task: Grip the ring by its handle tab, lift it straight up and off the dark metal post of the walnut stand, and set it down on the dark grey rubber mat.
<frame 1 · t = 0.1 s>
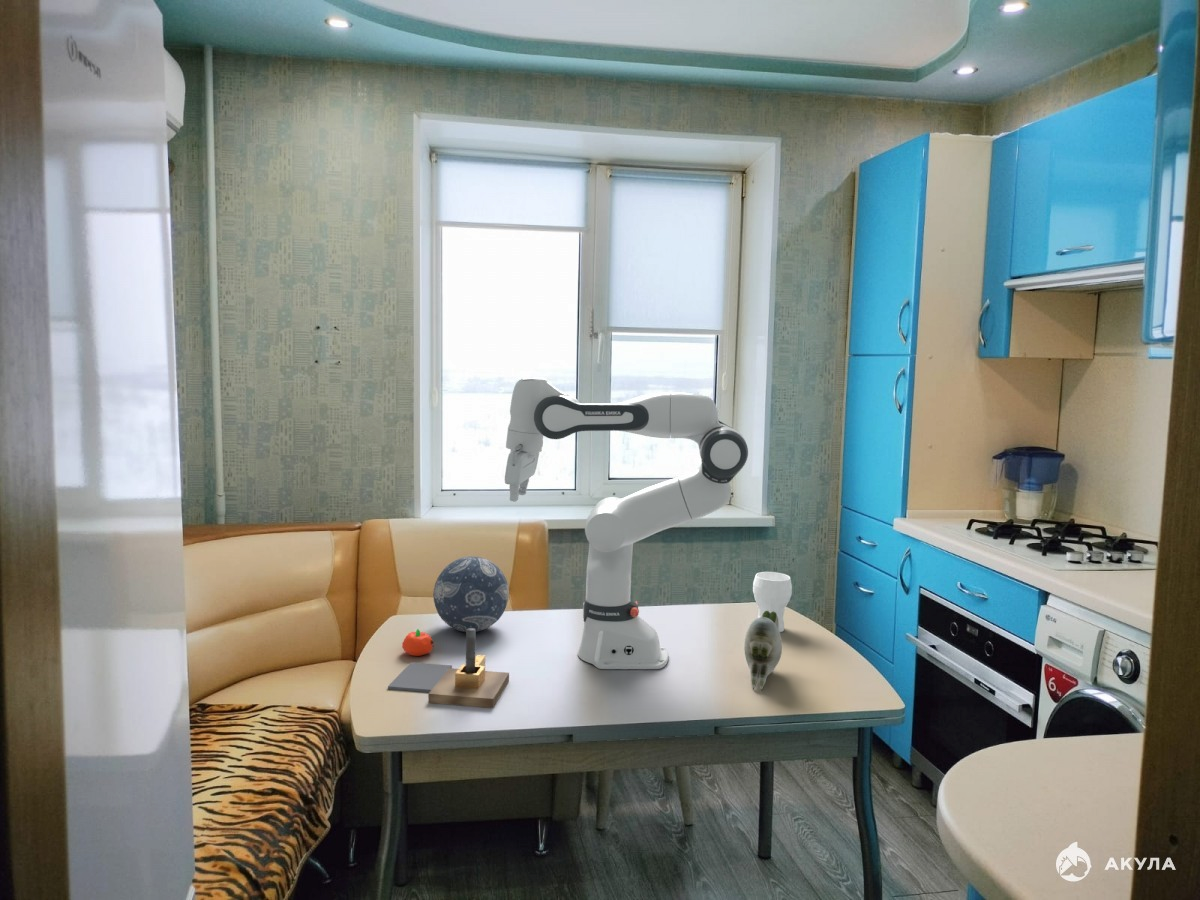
hand: (517, 497, 191), 39 cm above the table, fingers open, 8 cm apart
stand: (470, 691, 169), on the table
mat: (421, 678, 175), on the table
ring: (470, 682, 169), point 2 cm above the table, touching stand
toy: (762, 675, 183), on the table
decorative ball: (471, 630, 208), on the table
cup: (770, 629, 216), on the table
pumpkin: (417, 654, 190), on the table
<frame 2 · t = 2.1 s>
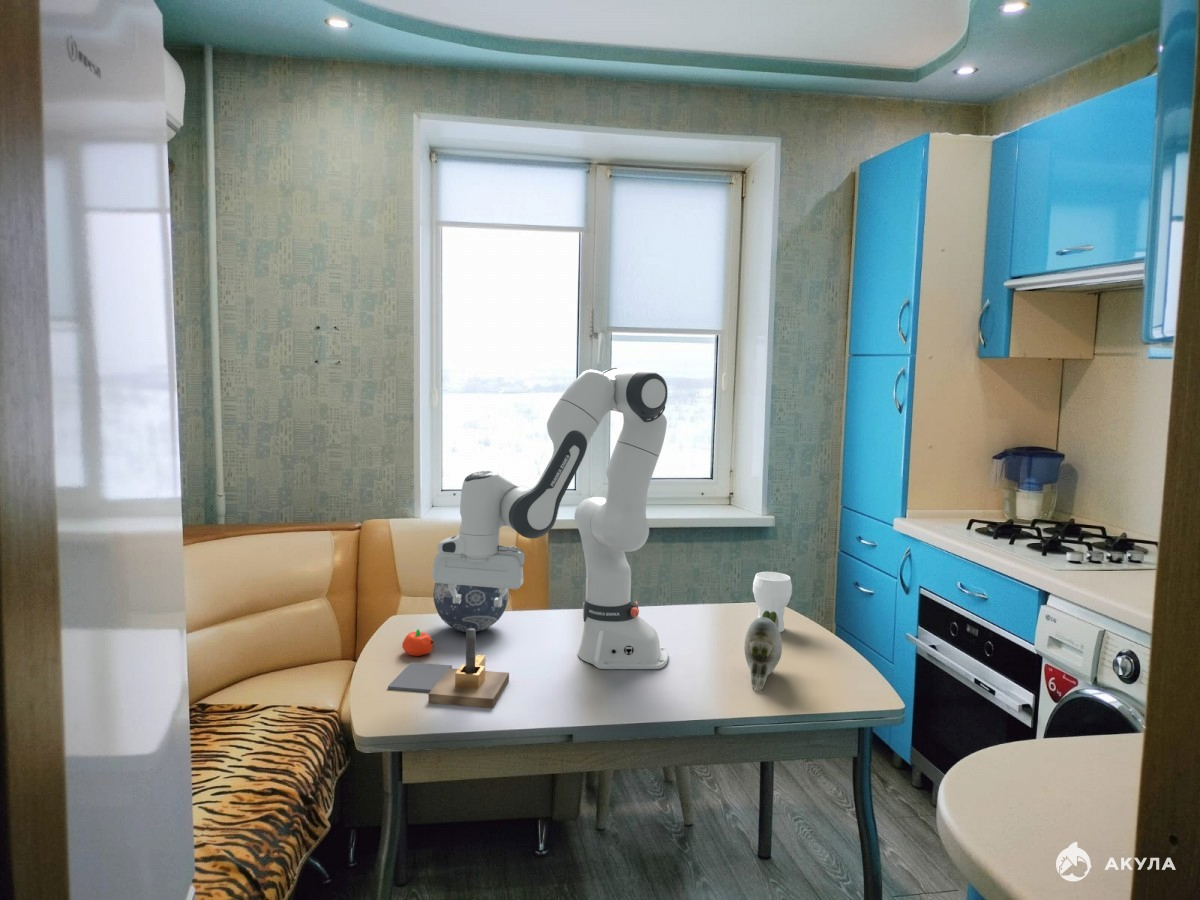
hand: (477, 604, 173), 18 cm above the table, fingers open, 8 cm apart
nothing on the table moved.
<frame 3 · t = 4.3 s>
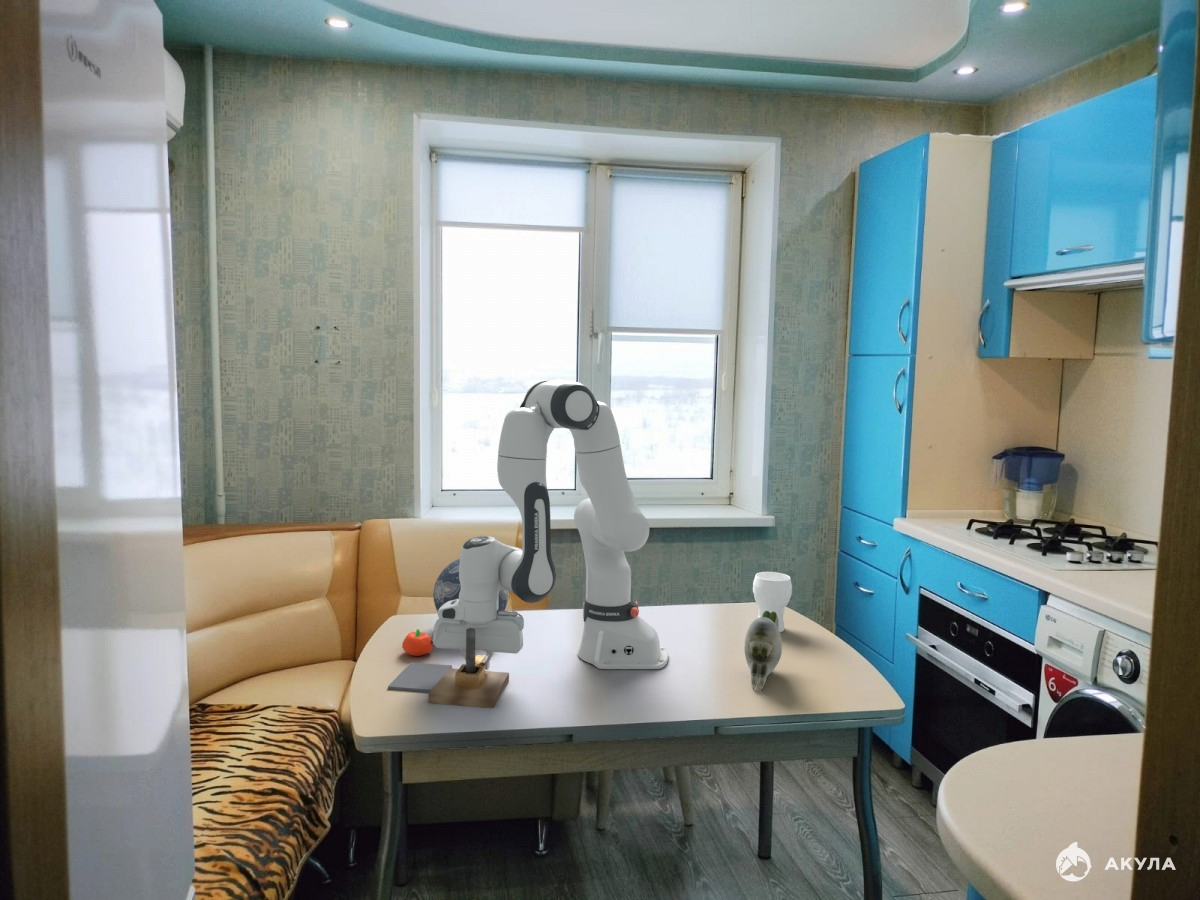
hand: (478, 668, 174), 3 cm above the table, fingers closed on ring, 2 cm apart
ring: (470, 682, 169), point 2 cm above the table, touching gripper, stand
everything else where it was.
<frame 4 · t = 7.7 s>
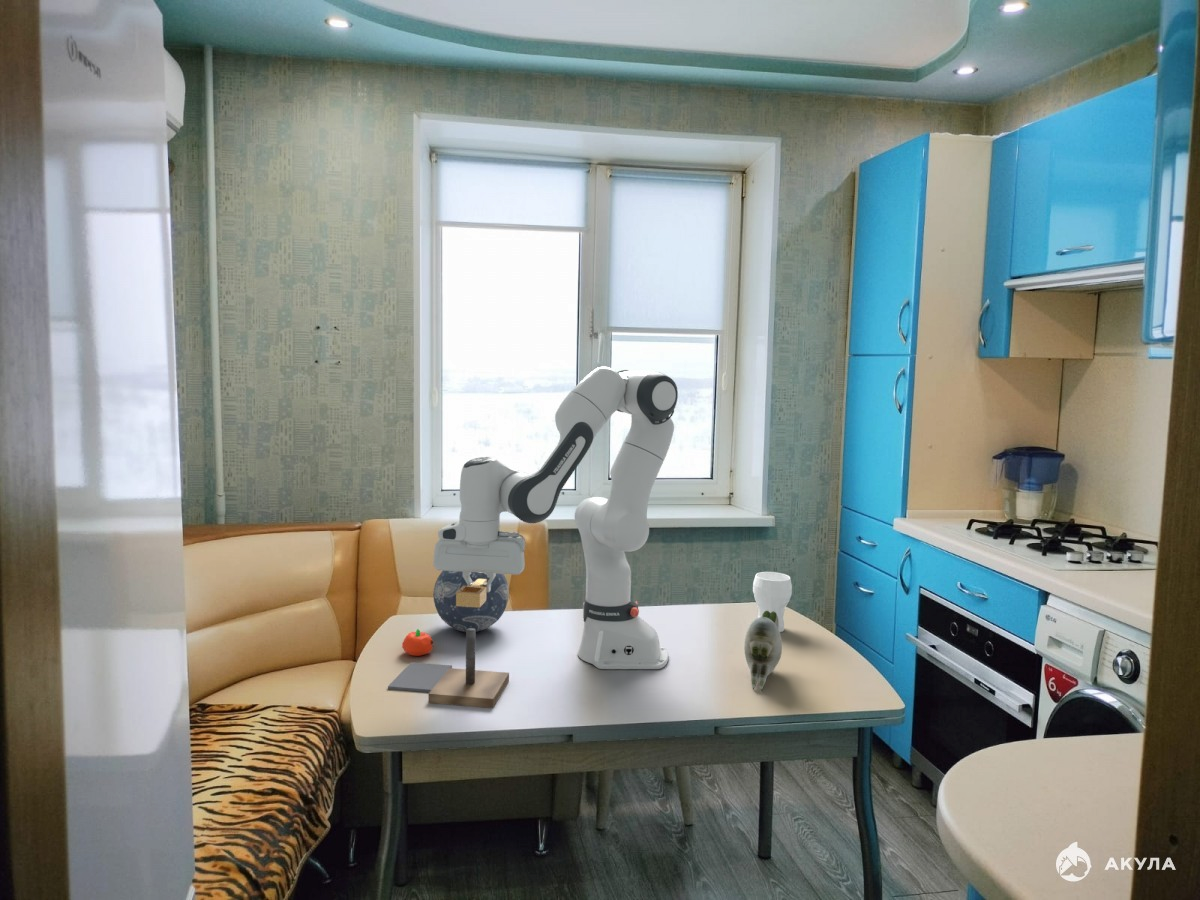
hand: (479, 591, 172), 21 cm above the table, fingers closed on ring
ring: (471, 603, 167), point 20 cm above the table, touching gripper
everything else where it was.
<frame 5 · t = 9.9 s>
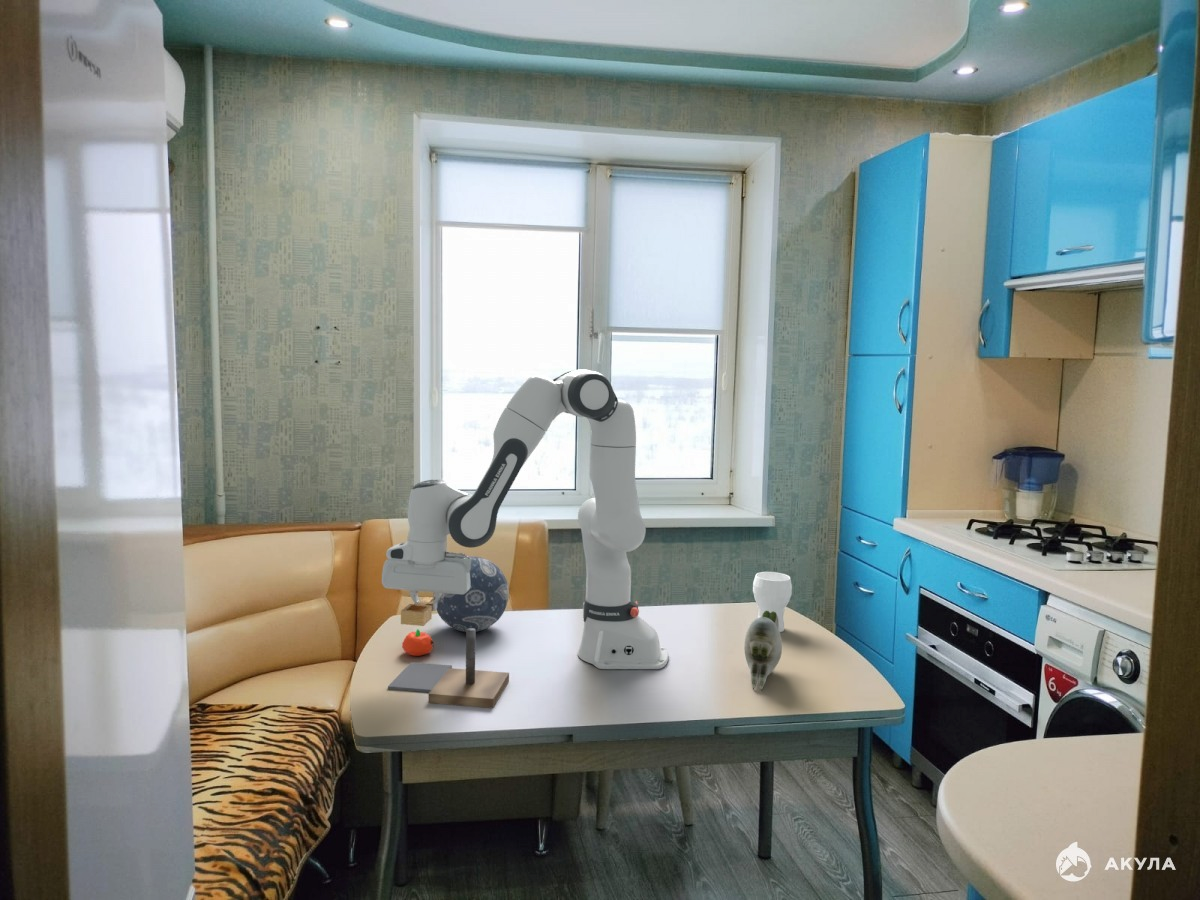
hand: (425, 609, 177), 15 cm above the table, fingers closed on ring
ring: (416, 621, 172), point 14 cm above the table, touching gripper
everything else where it was.
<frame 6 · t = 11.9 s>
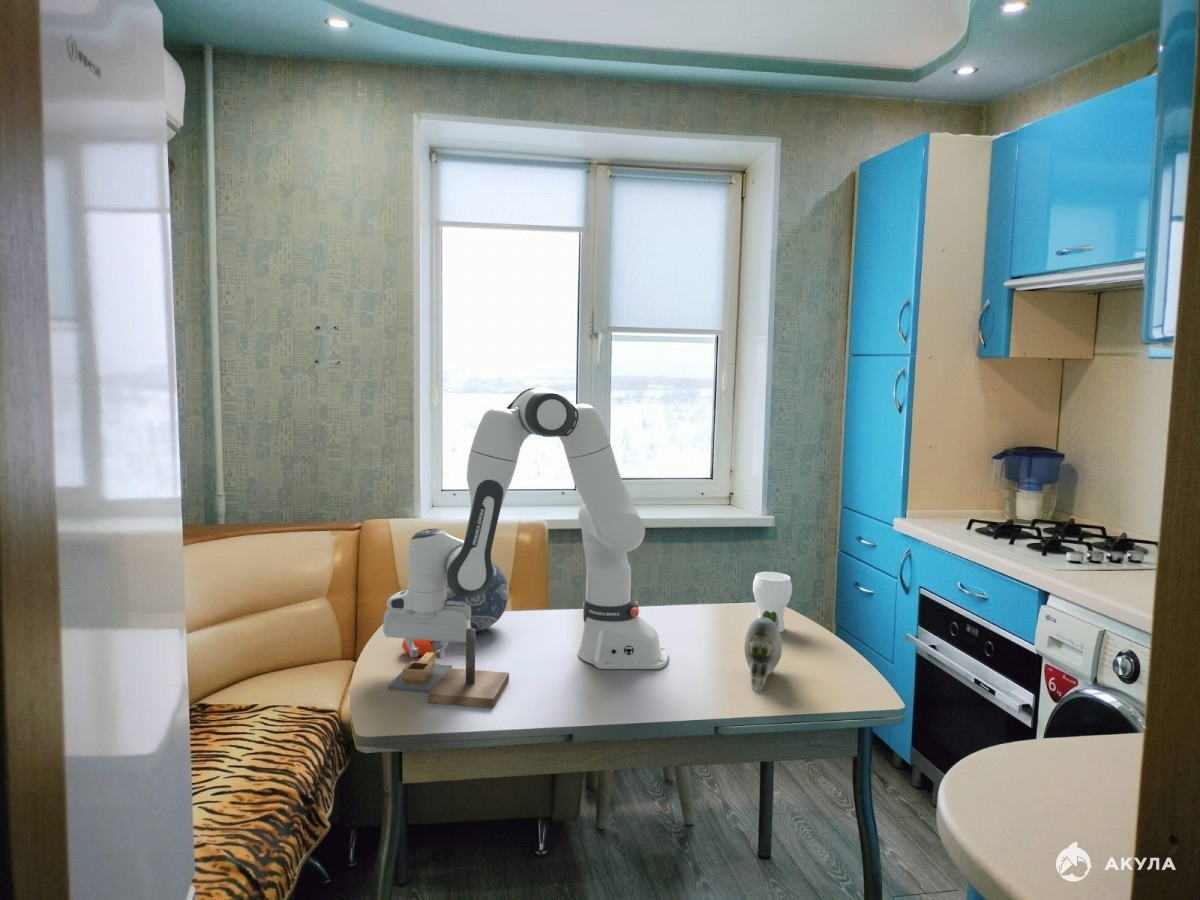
hand: (427, 657, 179), 3 cm above the table, fingers open, 5 cm apart
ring: (418, 679, 173), point 1 cm above the table, touching mat
everything else where it was.
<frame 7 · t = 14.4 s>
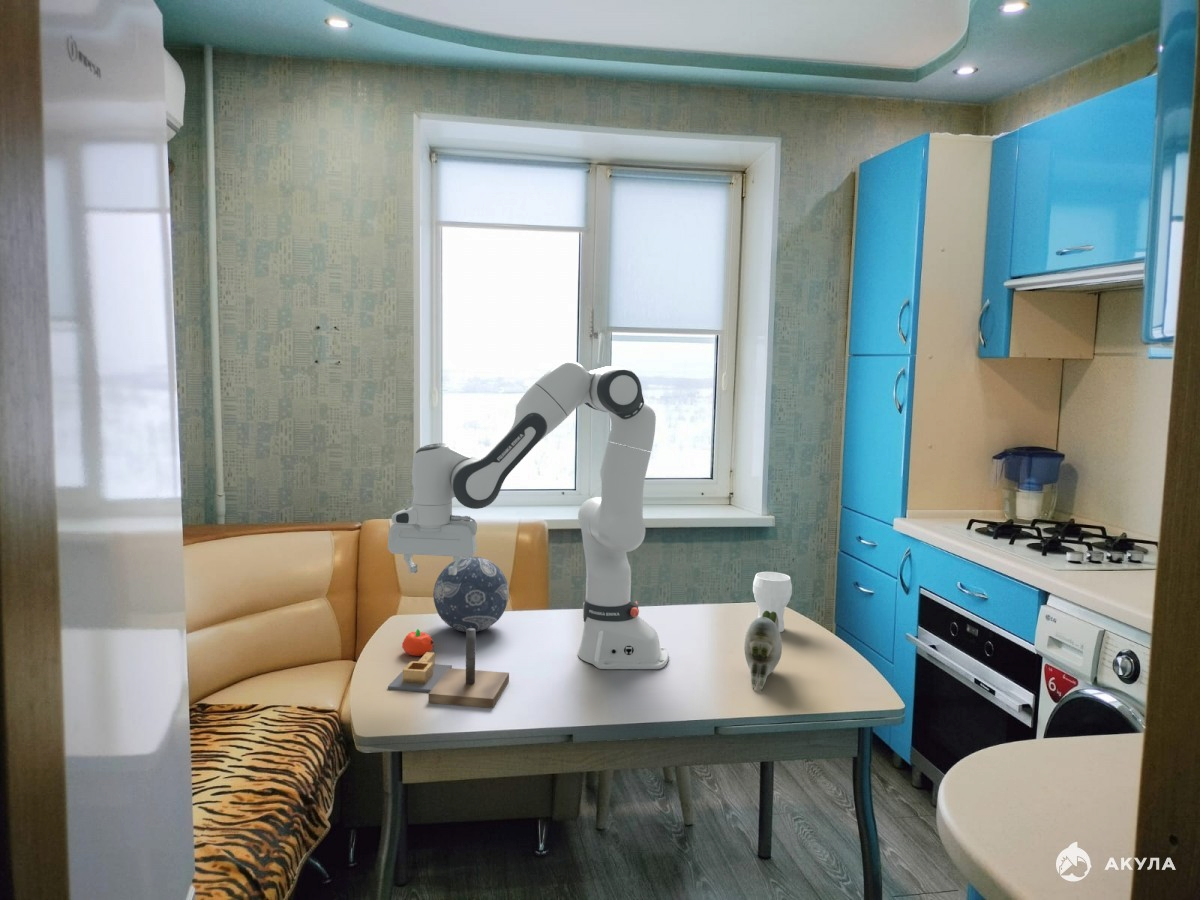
hand: (432, 573, 177), 23 cm above the table, fingers open, 8 cm apart
nothing on the table moved.
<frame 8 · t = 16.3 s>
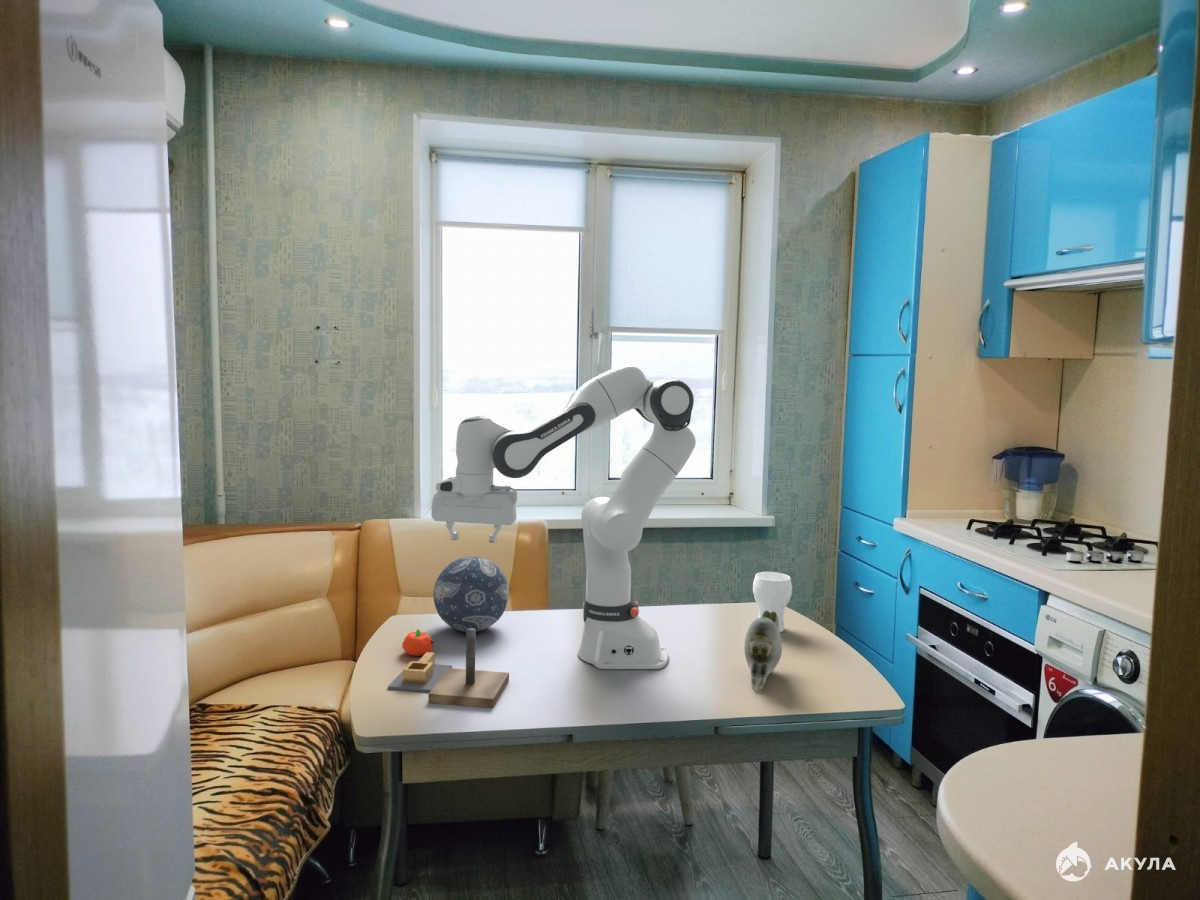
hand: (473, 541, 185), 29 cm above the table, fingers open, 8 cm apart
nothing on the table moved.
at the end: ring inside the target area on the mat (0.1 cm from its centre), point 0.6 cm above the mat's base; the gripper is holding nothing; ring tilted 0° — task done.
